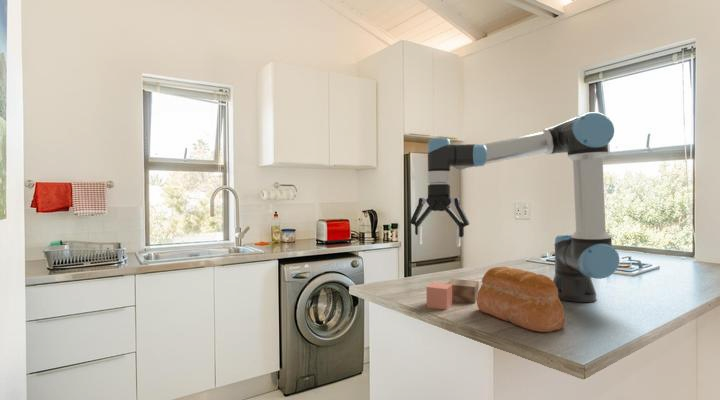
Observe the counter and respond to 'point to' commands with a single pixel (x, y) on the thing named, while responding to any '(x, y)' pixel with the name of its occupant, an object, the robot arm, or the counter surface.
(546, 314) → the bread
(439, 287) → the pink cube
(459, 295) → the walnut plinth
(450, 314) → the counter surface
